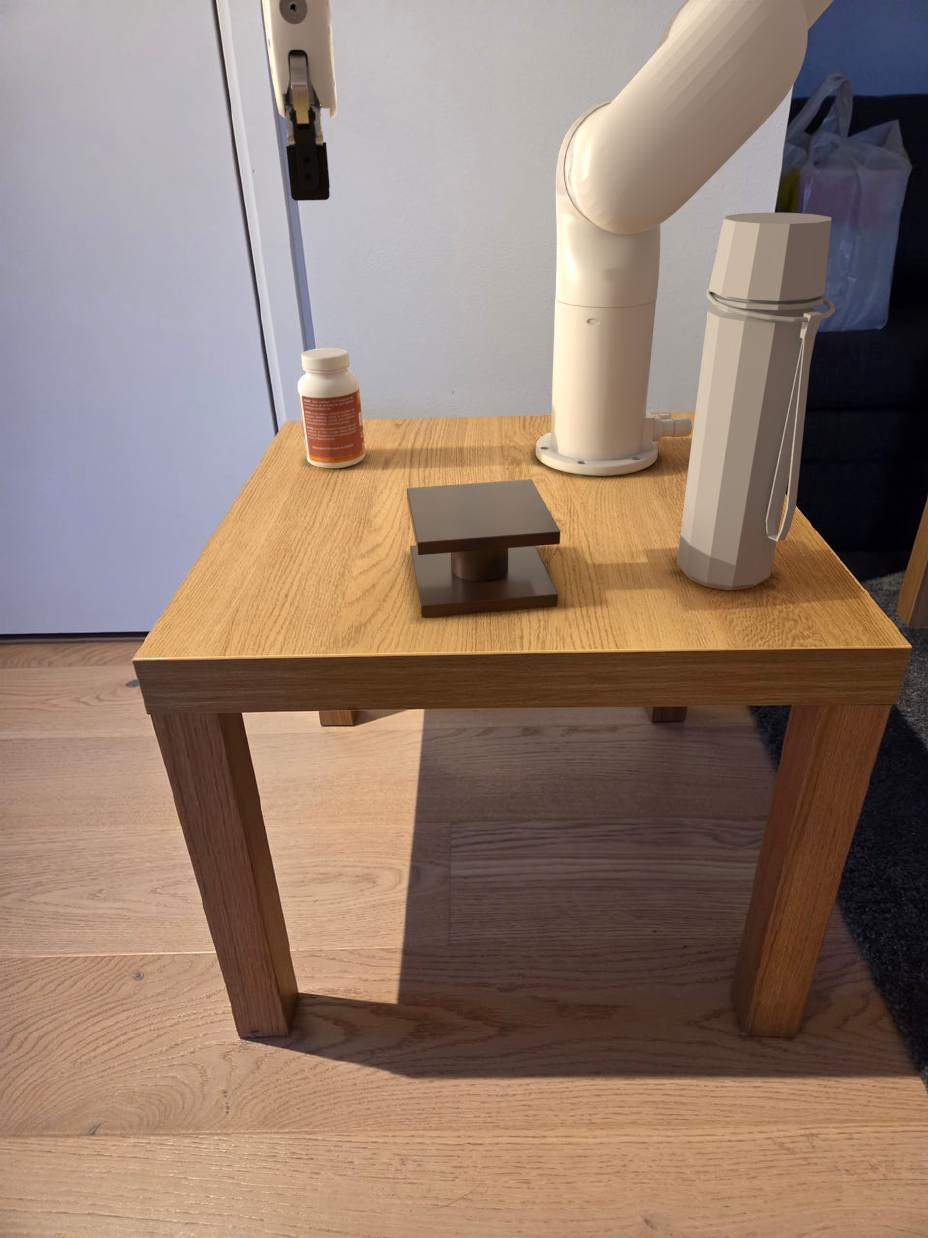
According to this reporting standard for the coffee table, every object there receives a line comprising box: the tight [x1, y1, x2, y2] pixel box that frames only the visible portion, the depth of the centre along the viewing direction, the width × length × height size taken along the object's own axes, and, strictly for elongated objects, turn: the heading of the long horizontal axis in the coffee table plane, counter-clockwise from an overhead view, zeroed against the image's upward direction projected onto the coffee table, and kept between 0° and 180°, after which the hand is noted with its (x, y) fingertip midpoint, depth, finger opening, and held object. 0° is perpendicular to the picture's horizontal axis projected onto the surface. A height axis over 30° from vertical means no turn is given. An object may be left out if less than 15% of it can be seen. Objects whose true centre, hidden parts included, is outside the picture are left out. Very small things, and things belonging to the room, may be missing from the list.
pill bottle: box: [297, 347, 366, 469], centre depth 86 cm, size 6×6×11 cm
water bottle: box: [676, 212, 836, 591], centre depth 58 cm, size 9×8×25 cm
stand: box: [406, 478, 561, 619], centre depth 64 cm, size 10×10×6 cm
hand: (312, 195), depth 75 cm, fingers open, 9 cm apart
